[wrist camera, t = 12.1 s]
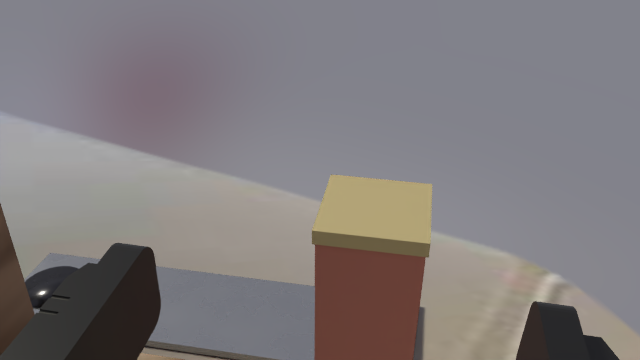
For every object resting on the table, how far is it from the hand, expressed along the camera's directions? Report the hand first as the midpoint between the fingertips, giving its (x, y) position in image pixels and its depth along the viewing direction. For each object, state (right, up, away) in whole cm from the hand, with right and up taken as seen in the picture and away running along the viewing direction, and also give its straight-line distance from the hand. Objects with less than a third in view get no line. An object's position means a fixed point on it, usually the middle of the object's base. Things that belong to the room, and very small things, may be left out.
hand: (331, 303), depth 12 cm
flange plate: (-7, -6, +23) cm, 25 cm away
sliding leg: (+2, -8, +16) cm, 18 cm away
